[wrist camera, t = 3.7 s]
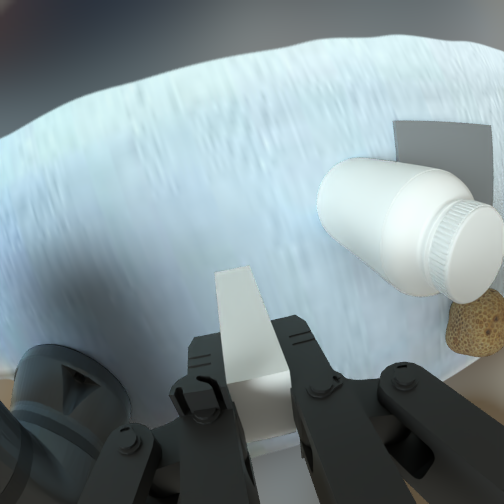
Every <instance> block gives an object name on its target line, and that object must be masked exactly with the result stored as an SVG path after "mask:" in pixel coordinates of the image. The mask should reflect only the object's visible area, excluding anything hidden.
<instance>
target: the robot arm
mask: <svg viewBox="0 0 504 504" xmlns="http://www.w3.org/2000/svg"><path fill="white" fill-rule="evenodd" d="M214 274H215V284H216V294H217V304H218V314H219V323H220V332H219V333H214V334H209V335H204V336H198V337H194V339H193V341H192V342H191V344H190V346H189V347H188V375H186V376H185V377H183V378H181V379H180V380H178V381H177V382H176V383H175V384H174V385H173V386H172V388H171V391H170V394H169V396H170V398H171V400H172V402H173V404H174V406H175V408H176V410H177V412H178V414H179V417H178V418H177V419H175V420H174V421H173V422H170V423H168V424H166V425H164V426H161V427H158V428H156V429H153V430H149V429H148V428H147V427H146V426H144V425H141V424H138V423H129V419H130V413H131V404H130V400H129V397H128V395H127V393H126V391H125V390H124V388H123V387H122V385H121V384H120V383H119V381H118V380H117V379H116V378H115V377H114V376H113V375H112V374H111V373H110V372H109V371H108V370H106V369H105V368H104V367H103V366H101V365H100V364H98V363H97V362H95V361H94V360H92V359H91V358H89V357H87V356H85V355H83V354H81V353H79V352H77V351H74V350H72V349H69V348H66V347H62V346H57V345H39V346H35V347H33V348H31V349H29V350H28V351H27V352H26V353H25V354H24V356H23V357H22V359H21V360H20V362H19V364H18V365H17V368H16V370H15V376H14V387H13V392H12V398H11V406H10V411H9V410H8V409H7V408H6V407H5V406H4V404H3V403H2V402H1V401H0V504H260V500H259V496H258V491H257V487H256V482H255V478H254V472H253V467H252V463H251V458H250V455H249V452H248V449H247V444H246V443H249V442H255V441H259V440H264V439H269V438H273V437H278V436H282V435H286V434H290V433H294V432H297V431H298V434H299V437H300V445H301V455H302V458H305V461H306V464H307V467H308V470H309V473H310V476H311V478H312V481H313V484H314V487H315V490H316V493H317V496H318V498H319V502H320V504H416V502H415V500H414V498H413V496H412V495H411V493H410V491H409V489H408V487H407V485H406V483H405V482H404V480H405V481H406V482H408V484H410V486H412V487H413V488H414V489H415V490H416V491H417V492H418V493H419V494H420V495H421V496H422V497H423V498H424V499H425V500H426V501H427V502H428V503H429V504H504V426H503V425H502V424H500V423H499V422H497V421H496V420H495V419H493V418H492V417H491V416H489V415H488V414H486V413H485V412H484V411H482V410H481V409H480V408H478V407H477V406H475V405H474V404H473V403H471V402H470V401H468V400H467V399H466V398H464V397H463V396H462V395H460V394H458V393H457V392H456V391H454V390H453V389H452V388H450V387H449V386H448V385H446V384H445V383H443V382H442V381H441V380H439V379H438V378H436V377H435V376H434V375H432V374H431V373H429V372H428V371H427V370H425V369H424V368H422V367H421V366H419V365H417V364H415V363H409V362H399V363H394V364H392V365H390V366H388V367H387V368H386V369H384V370H383V371H382V373H381V376H380V378H378V379H367V380H352V379H347V378H345V377H344V376H343V375H342V374H341V373H338V372H336V371H334V370H333V369H332V367H331V366H330V364H329V362H328V360H327V358H326V357H325V355H324V353H323V351H322V350H321V348H320V346H319V344H318V342H317V341H316V340H315V337H314V335H313V334H312V332H311V330H310V328H309V326H308V325H307V323H306V321H304V320H303V319H301V318H300V317H298V316H296V315H292V316H288V317H284V318H280V319H275V320H271V321H270V318H269V316H268V313H267V310H266V308H265V305H264V302H263V300H262V297H261V295H260V292H259V289H258V287H257V284H256V281H255V279H254V276H253V274H252V271H251V268H250V266H249V265H248V266H244V267H239V268H234V269H229V270H224V271H219V272H214ZM296 428H297V431H296ZM403 479H404V480H403Z"/></svg>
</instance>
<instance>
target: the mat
mask: <svg viewBox="0 0 504 504" xmlns="http://www.w3.org/2000/svg"><path fill="white" fill-rule="evenodd" d="M393 128H394V137H395V147H396V158H397V162H401V163H407V164H414V165H420V166H426V167H431V168H437V169H441V170H445V171H447V172H450V173H452V174H453V175H455V176H456V177H457V178H459V179H460V180H461V181H462V182H463V183H464V184H465V185H466V186H467V188H468V189H469V190H470V192H471V194H472V196H473V198H474V200H475V201H478V202H482V203H485V204H488V205H490V206H493V146H492V131H491V126H490V125H480V124H469V123H456V122H437V121H393Z"/></svg>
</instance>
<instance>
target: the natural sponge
mask: <svg viewBox="0 0 504 504" xmlns="http://www.w3.org/2000/svg"><path fill="white" fill-rule="evenodd" d="M445 337H446V343H447V345H448V346H449V348H450V349H451V350H453V351H454V352H456V353H459V354H464V355H470V356H474V357H485V356H490V355H492V354H494V353H496V352H498V351H499V350H501V349H502V348H503V346H504V298H503V297H502V295H501V294H500V293H499V292H498V291H496V290H494V289H490V288H488V289H487V291H486V292H485V293H484V294H483V295H482V296H480V297H479V298H478V299H476V300H475V301H473V302H470V303H466V304H458V303H455V302H453V303H452V305H451V308H450V312H449V321H448V325H447V329H446V335H445Z"/></svg>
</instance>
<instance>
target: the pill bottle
mask: <svg viewBox="0 0 504 504" xmlns="http://www.w3.org/2000/svg"><path fill="white" fill-rule="evenodd" d="M317 212H318V216H319V219H320V222H321V224H322V226H323V227H324V229H325V230H326V232H327V233H328V234H329V235H330V236H331V237H332V238H333V239H334V240H335V241H337V242H338V243H339V244H341V245H342V246H343V247H344V248H346V249H347V250H348V251H350V252H351V253H352V254H353V255H355V256H356V257H357V258H358V259H360V260H361V261H362V262H363V263H365V264H366V265H367V266H368V267H370V268H371V269H372V270H373V271H375V272H376V273H377V274H378V275H379V276H381V277H382V278H383V279H384V280H386V281H387V282H388V283H389V284H390V285H392V286H393V287H394V288H396V289H397V290H398V291H400V292H402V293H404V294H407V295H411V296H415V297H428V296H433V295H436V294H438V293H442V294H443V295H445V296H446V297H448V298H449V299H450V300H452V301H453V302H455V303H458V304H466V303H470V302H473V301H475V300H476V299H478V298H479V297H480V296H482V295H483V294H484V293H485V292H486V291H487V289H488V288H489V287H490V286H491V284H492V283H493V281H494V279H495V278H496V276H497V274H498V272H499V269H500V267H501V264H502V261H503V257H504V222H503V219H502V217H501V215H500V214H499V212H498V211H497V210H496V209H495V208H494V207H493V206H490V205H488V204H485V203H482V202H478V201H475V200H474V198H473V196H472V194H471V192H470V190H469V189H468V188H467V186H466V185H465V184H464V183H463V182H462V181H461V180H460V179H459V178H457V177H456V176H455V175H453V174H452V173H450V172H447V171H445V170H441V169H437V168H431V167H426V166H420V165H414V164H407V163H401V162H394V161H387V160H379V159H371V158H362V157H359V158H350V159H347V160H344V161H342V162H340V163H338V164H336V165H335V166H334V167H333V168H331V169H330V170H329V171H328V173H327V174H326V175H325V177H324V178H323V180H322V182H321V184H320V187H319V190H318V194H317Z"/></svg>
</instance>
